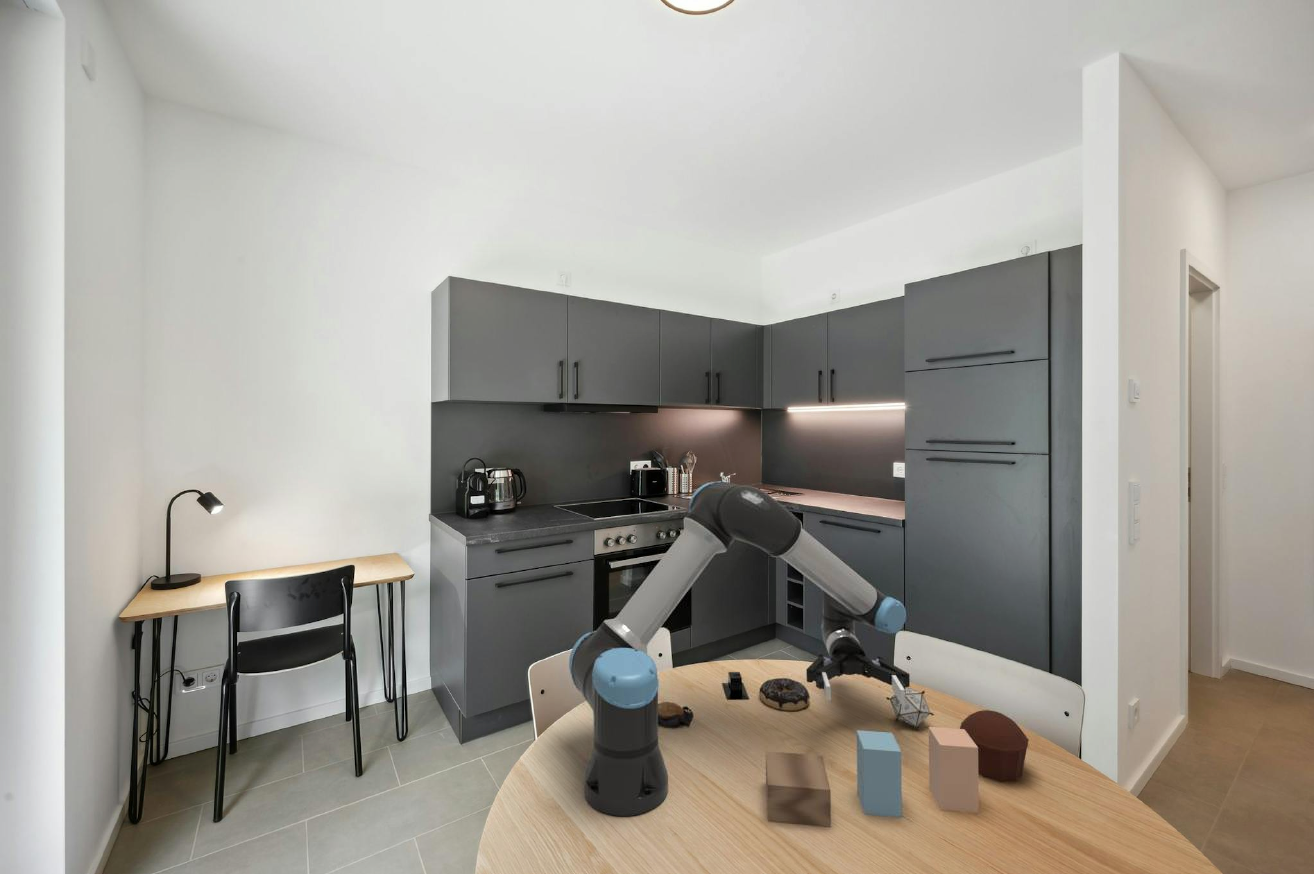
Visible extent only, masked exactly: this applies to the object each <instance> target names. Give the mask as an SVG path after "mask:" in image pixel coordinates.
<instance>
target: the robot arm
mask: <svg viewBox="0 0 1314 874" xmlns="http://www.w3.org/2000/svg"><path fill="white" fill-rule="evenodd" d="M688 506H689V510H688V513H687V514H686V515H685V517H684V518H683V530H682V532H681V533H680V535H679V536H678V537H677V538H676V539H675V540H674V542H673V543H672V544H671V546H670V547H669V549H668V550H667V551H666V552H665V554H664V555H663V556H662V557H661V559H660V560H659V562H657V564H656V565H655V566H654V568H653V569H652V570H651V572H650V573H649V574H648V575H647V577H646V578H645V579H644V581H643V582H642V584H641V585H640V586H639V588H637V590H636V591H635V593H634V594H633V595H632V596H631V598H630V599H629V600H628V601H627V602H626V604H625V605H624V606H623V608H622V609H621V610H620V611H619V613H618V614H617V616H616V617H614V618H610V619H604V621H603V622H602V623H601V624H600V625H599V627H598V628H597V629H596V630H594V631H591V632H587V633H585V634H583V635H582V636H581V637H580V638H579V639H578V640H577V641H576V642H575V644H574V645H573V648H572V649H571V652H570V654H569V655H570V656H569V660H568V669H569V673H570V676H571V679H572V681H573V685H574V686H575V688H576V689H577V691H579V692H580V694H581V695H582V696H583V698H584V699H585V701H586V702H587V704H588V705H589V706H590V709H591V710H592V712H593V750H592V752H591V756H590V759H589V762H588V766H587V768H586V769H587V770H586V773H585V775H584V796H585V799H586V801H587V802H588V804H589V805H590V806H591V807H592V808H593V809H595V810H597V811H599V812H601V813H604V814H607V815H611V816H617V817H619V816H620V817H628V816H629V817H631V816H637V815H641V814H644V813H647V812H649V811H651V810H654V809H655V808H657V807H658V806H659V805H661V803H663V801H664V800H665V799H666V797H667V795H668V792H669V774H668V770H667V766H666V764H665V761H664V760H665V759H664V758H663V754H662V751H661V748H660V745H659V727H658V704H659V686H660V685H659V684H660V683H659V678H658V677H659V676H658V669H657V665H656V662H655V661H654V659H653V658H652V657H651V656H650V655H649V654H648V645H649V643H650V642H651V641H652V639H653V638H654V637H655V635H656V634H657V633H658V631H659V630H660V628H661V627H662V626H663V625H664V623H665V622H666V621H667V619H668V618H669V617H670V615H671V614H672V613H673V611H674V610H675V609H676V607H677V606H678V604H679V603H680V602H681V600H682V599H684V597H685V595H686V594H687V592H688V591H689V590H690V589H691V587H692V586H693V585H694V583H695V582H696V580H698V578H699V577H700V575H701V574H702V572H703V571H704V570H705V568H706V567H707V566H708V564H709V563H710V562H711V560H712V559H713V558H714V557H715V555H717V554H723V553H726V552H727V551H728V550H729V548H730V547H731V545H732V544H733V543H734V541H735V540H736V541H741V542H744V543H746V544H749V545H751V546H754V547H756V548H758V549H760V550H762V551H764V552H765V553H767V554H768V556H771V557H773V558H781V559H782V560H784V562H786V563H788V564H789V565H790V566H791V567H793V568H794V569H795V570H797V571H798V572H799V573H801V574H802V575H803V576H804V577H805V578H807V579H808V580H809V581H811V582H812V583H813V584H815V585H816V586H817V587H818V588H820V589H821V597H822V598H821V601H822V603H821V604H822V623H821V625H820V632H821V633H820V634H821V639H822V641H823V643H824V645H825V648H826V650H827V653H828V656H829V657H827V656H825V655H824V654H822V653H818V654H817V658H816V660H814V661H813V662H812V663H811V664H810V665H809V666H808V667H807V668H806V673H805V674H806V682H807V683H813V682H814V683H815V688H818V689H819V690H823V693H824V696H825V700H826V701H832V699H831V697H832V696H831V694H832V693H831V684H830V682H829V680H832V679H833V678H835V677H839V678H840V677H842V676H843V675H847V676H854V675H857V676H858V675H859V676H860V675H861V676H863V677H865V678H867V679H871V678H872V679H876V680H878V681H880V682H882V683H885V684H886V685H887V684H888V685H889V686H891V690H892V691H893V694H894V695H896V696H897V698H898V700H899V702H900V703H901V704H905V693H906V687H907V688H910V687H911V686H910V684H911V683H910V681H911V679H910V673H909V672H907V671H904V670H903V669H901V668H899V667H898V666H896V665H894V664H892V663H891V662H888V661H887V660H885V658H883V657H882V656H877V657H876V659H870V657H867V654H866V653H865V650H864V648H863V646H862V645H861V643H860V641H859V640H858V638H857V636H856V631H855V630H856V627H855V621H857V622H859V623H861V624H863V625H866V626H868V627H871V628H872V629H876V630H877V631H879V632H883V633H887V634H890V635H892V634H896V633H898V632H899V631H901V630H902V628H903V627H904V624H905V623H906V621H907V620H906V619H907V610H906V607H905V606H904V604H903V603H902V602H901V601H900V600H897V599H895V598H894V597H892V596H886V595H885V594H883V592H881V591H879V590H878V589H877V588H875V587H874V586H873V585H872V584H871V583H869V582H868V581H867V580H865V579H864V578H863V577H862V576H861V575H859V574H858V573H857V572H856V571H855V570H853V569H852V568H851V567H849V565H847V564H846V563H845V562H843V561H842V559H840V558H839V557H838V556H837V555H835V554H834V553H833V552H832V551H830V550H829V549H828V548H827V547H826V546H824V545H823V544H822V543H821V542H819V541H818V540H817V539H816V538H814V537H813V536H812V535H811V534H809V533H808V531H806V530H805V529H804V528H803V524H802V521H801V520H800V519H799V518H798V517H797V516H796V515H794V514H793V513H792V512H791V511H790V510H788V509H787V508H786V507H784V505H783V504H781V503H780V502H778V501H777V500H776V499H775V498H773V497H772V496H771V495H770V494H768V493H767V492H765V491H763V490H761V489H759V488H757V487H755V486H752V485H744V484H734V483H730V482H727V481H713V482H712V481H711V482H707V483H705V484H703V485H701V486H700V487H698V488H697V489H696V490H695V491H694V492H693V494H692V496H691V498H690V500H689V503H688Z"/></svg>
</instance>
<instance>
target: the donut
mask: <svg viewBox="0 0 1314 874" xmlns="http://www.w3.org/2000/svg"><path fill="white" fill-rule="evenodd" d="M758 691H759V696H760V699H761V701H762V703H764V704H765V705H767V706H768V707H770V708H773V709H776V710H781V711H786V712H787V711H788V712H790V711H799V710H802V709H804V708H806V707H807V706H808V705H809V704H810V699H811V696H810V694H809V690H808V688H807V687H805V685H804V684H802V682H799V681H797V680H795V679H792V678H788V677H787V678H786V677H782V678H781V677H780V678H777V677H776V678H772V679H767V680H766V681H764V682H763V683H762V684H761V686H760V688H759V690H758Z"/></svg>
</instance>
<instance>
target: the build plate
mask: <svg viewBox="0 0 1314 874" xmlns="http://www.w3.org/2000/svg"><path fill="white" fill-rule="evenodd" d="M721 686H722V689H723V692H724V696H725V698H726V700H727V701H747V700H748V701H749V700H750V697H749V695H748V692H747V689H746V687H745V683H744V682H743V677H742V675H741V672H740V671H732V672H731V671H728V672H727V682H722V683H721Z"/></svg>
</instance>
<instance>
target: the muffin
mask: <svg viewBox="0 0 1314 874" xmlns="http://www.w3.org/2000/svg"><path fill="white" fill-rule="evenodd" d="M959 729H965V731H966V732H967V734H968V735H969V736H970V738H971V739H972V740H973V742H974V743H975V744H976V746H977V747H978V775H980V776H982V777H983V778H986V779H991V780H994V781H997V782H1000V783H1001V782H1002V783H1003V782H1004V783H1005V782H1013V783H1014V782H1017V780H1018V779H1020V778H1021V777H1022V776H1023V772H1024V766H1025V761H1026V754H1027V750H1028V747H1029V738H1028V737H1027V736H1026V734H1025V733H1024V731H1022V728H1020V726H1019V725H1018V724H1017V722H1015V721H1014V720H1013V719H1012V718H1010V717H1008V716H1007V715H1005V714H1003V713H1001V712H999V711H995V710H989V709H985V710H984V709H983V710H978V711H975V712H973V713H971V714H969V715H968V716H967V717H966V718H965V719H964V720H963V721H961V722H960V726H959Z"/></svg>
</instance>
